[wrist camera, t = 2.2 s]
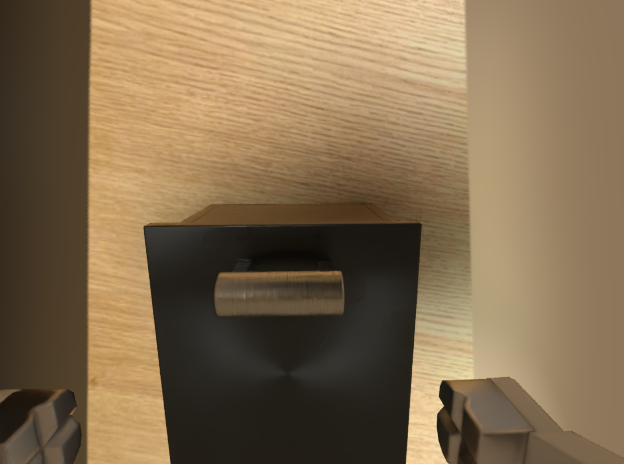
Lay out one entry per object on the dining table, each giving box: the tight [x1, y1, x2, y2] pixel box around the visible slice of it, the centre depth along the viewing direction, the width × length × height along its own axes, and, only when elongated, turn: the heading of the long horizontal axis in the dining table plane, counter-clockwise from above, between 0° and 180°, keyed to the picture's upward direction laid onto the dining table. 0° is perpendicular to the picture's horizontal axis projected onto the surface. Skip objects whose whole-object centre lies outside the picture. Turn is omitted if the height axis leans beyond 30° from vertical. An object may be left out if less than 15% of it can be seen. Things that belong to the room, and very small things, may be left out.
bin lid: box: [144, 220, 422, 464], centre depth 17 cm, size 16×14×5 cm
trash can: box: [180, 203, 395, 223], centre depth 25 cm, size 16×14×12 cm
